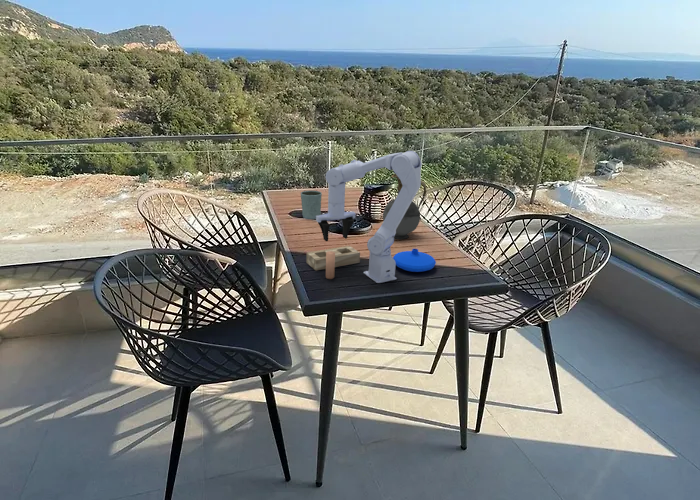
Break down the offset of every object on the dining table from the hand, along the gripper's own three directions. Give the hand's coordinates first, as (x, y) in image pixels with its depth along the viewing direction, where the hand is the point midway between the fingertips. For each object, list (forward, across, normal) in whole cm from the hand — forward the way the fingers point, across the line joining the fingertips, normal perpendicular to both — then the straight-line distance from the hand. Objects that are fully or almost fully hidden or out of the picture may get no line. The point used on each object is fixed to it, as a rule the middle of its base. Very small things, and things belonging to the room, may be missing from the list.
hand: (335, 239), depth 161 cm
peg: (+10, +6, +9) cm, 15 cm away
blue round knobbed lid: (+11, -26, +13) cm, 31 cm away
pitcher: (+10, -42, -17) cm, 47 cm away
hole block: (+10, -1, -2) cm, 11 cm away
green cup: (+10, -16, -59) cm, 62 cm away
